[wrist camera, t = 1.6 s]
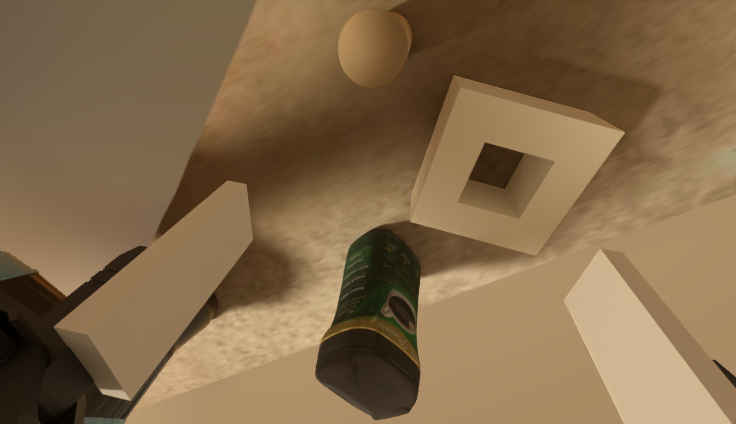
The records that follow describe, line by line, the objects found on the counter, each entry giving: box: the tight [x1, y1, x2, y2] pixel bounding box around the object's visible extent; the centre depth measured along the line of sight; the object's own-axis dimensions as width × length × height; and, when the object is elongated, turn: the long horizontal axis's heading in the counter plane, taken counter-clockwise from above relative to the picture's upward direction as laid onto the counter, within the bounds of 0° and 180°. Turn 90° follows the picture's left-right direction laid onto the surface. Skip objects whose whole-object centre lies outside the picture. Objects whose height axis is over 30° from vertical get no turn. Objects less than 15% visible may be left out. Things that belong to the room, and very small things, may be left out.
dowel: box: [338, 9, 412, 88], centre depth 23 cm, size 4×4×12 cm
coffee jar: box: [315, 230, 421, 420], centre depth 34 cm, size 10×8×19 cm
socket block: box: [410, 75, 625, 256], centre depth 29 cm, size 13×13×6 cm
